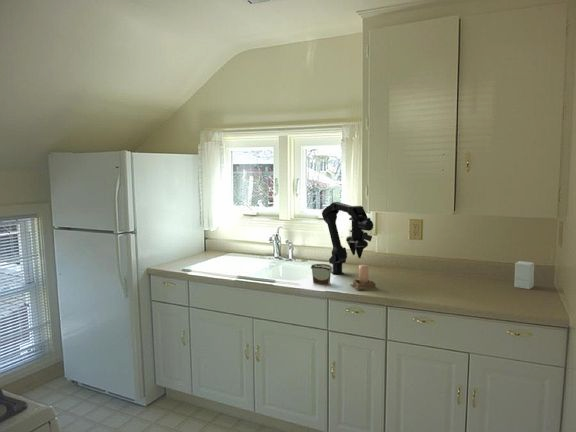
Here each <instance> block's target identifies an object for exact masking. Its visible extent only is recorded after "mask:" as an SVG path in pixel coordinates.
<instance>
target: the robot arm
mask: <svg viewBox="0 0 576 432" xmlns="http://www.w3.org/2000/svg"><path fill="white" fill-rule="evenodd" d="M339 212H344V213H347V214H348V216H350V217H349V219H348V220H349V221H351V230H350V231H349V232H350V233H351V235H349V236H346V239H345V240H346V241H345V242H346V244H347V245H348V247H349V249H350V251H351V254H352V256H355V255H356V254H357V258H358V259H361V258H362V254H363V252H364V250H365V249H366V248H367V247H368V246H369V242H372V238H373V236H372V235H370V234H368V232H369V231H370V232H371V231H372V230H373V228H374V223H373V221H372V220H371V217H368V215H367V213H366V211H365V208H364V207H363V206H362V205H349V204H345V203H343V202H340V201H333V202H331V203H330V204H329V205H328V206H326V207H324V209H323V210H322V212H321V215H322V216H321V217H322V219H323V221H324V222H325V223H326V224H327V227H328V231H329V235H330V240H331V243H332V244H331V245H332V249H331V256H330V257H329V259H328V262H329V264H331V265H332V271H331V274H332V275H345V272H343V264H346V261H347V258H348V252H347V249H346V247H343V246H342V243H341V239H340V234H339V231H338V227H337V223H336V222H337V219H338V214H339ZM365 231H368V232H365Z"/></svg>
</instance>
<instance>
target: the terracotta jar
mask: <svg viewBox="0 0 576 432" xmlns="http://www.w3.org/2000/svg"><path fill="white" fill-rule="evenodd" d="M369 279H370V265H369V264H363V263H362V264H359V265H358V280H359V284H369Z"/></svg>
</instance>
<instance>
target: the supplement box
mask: <svg viewBox="0 0 576 432" xmlns="http://www.w3.org/2000/svg"><path fill="white" fill-rule="evenodd" d="M534 274H535V262H530V261H523V260H519V261H517V262H515V263H514V282H513V283H514V286H513V287H514V288H521V289H524V290H525V289H526V290H530V289H532V288H534V284H535V281H534V280H535V277H534V276H535V275H534Z"/></svg>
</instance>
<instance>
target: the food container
mask: <svg viewBox="0 0 576 432" xmlns="http://www.w3.org/2000/svg"><path fill="white" fill-rule="evenodd" d="M331 265H332V264H331ZM331 265H330V264H327V263H314V264H311V266H310V269H311V274H312V283H313V284H314V285H315V284H317V285H322V286H330V285H331V284H330V283H331V274H332V273H331V271H333V266H331Z"/></svg>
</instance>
